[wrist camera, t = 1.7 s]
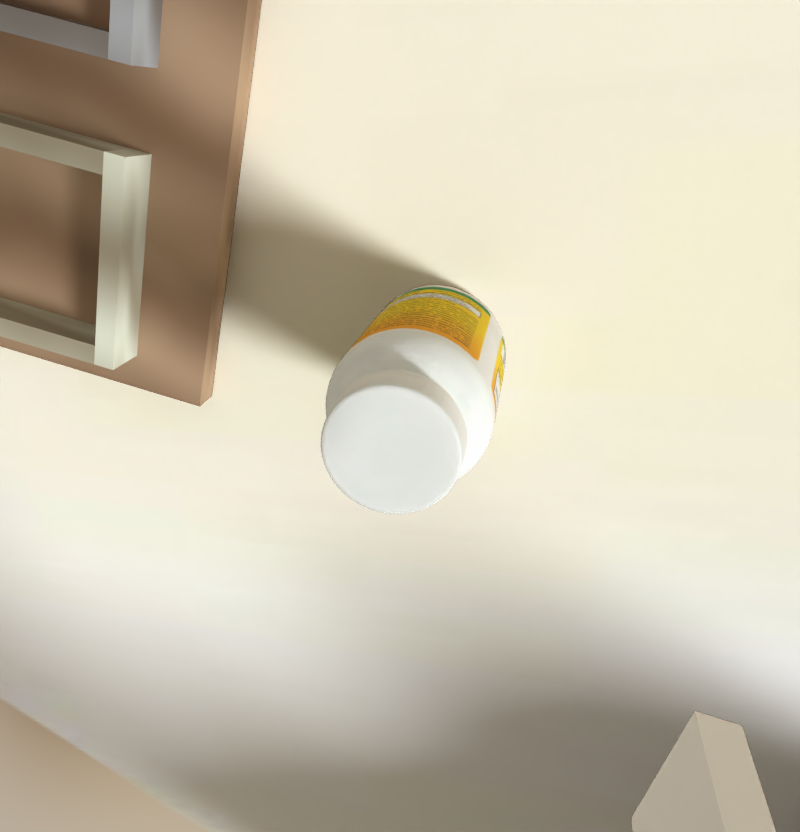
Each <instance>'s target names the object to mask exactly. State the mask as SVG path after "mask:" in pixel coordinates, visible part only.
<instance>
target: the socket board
mask: <svg viewBox="0 0 800 832" xmlns="http://www.w3.org/2000/svg"><path fill="white" fill-rule="evenodd" d="M261 2H262V0H0V346H1V347H5V348H8V349H11V350H15V351H18V352H21V353H25V354H28V355H31V356H35V357H38V358H41V359H44V360H48V361H51V362H54V363H58V364H61V365H64V366H68V367H71V368H74V369H78V370H81V371H84V372H88V373H91V374H94V375H97V376H101V377H104V378H107V379H111V380H114V381H117V382H121V383H124V384H127V385H131V386H134V387H137V388H141V389H144V390H147V391H150V392H154V393H157V394H160V395H164V396H167V397H170V398H174V399H177V400H180V401H184V402H187V403H190V404H194V405H197V406H201V405H202V404H203V403H204V402H205V401H206V400H208V399H209V398H210V397H211V396H212V390H213V382H214V374H215V366H216V359H217V351H218V343H219V335H220V327H221V319H222V311H223V303H224V295H225V287H226V279H227V271H228V264H229V256H230V248H231V240H232V232H233V224H234V216H235V208H236V200H237V192H238V184H239V177H240V169H241V161H242V153H243V145H244V137H245V129H246V121H247V113H248V105H249V97H250V89H251V82H252V74H253V66H254V58H255V50H256V42H257V34H258V26H259V18H260V10H261Z"/></svg>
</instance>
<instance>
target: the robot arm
mask: <svg viewBox="0 0 800 832" xmlns="http://www.w3.org/2000/svg"><path fill="white" fill-rule="evenodd" d="M631 820H632V828H633V832H776V830H775V827H774V824H773V821H772V818H771V814H770V811H769V808H768V805H767V802H766V799H765V796H764V793H763V790H762V786H761V783H760V780H759V777H758V774H757V771H756V768H755V765H754V762H753V758H752V755H751V752H750V749H749V746H748V743H747V740H746V737H745V734H744V730H743V727H742V726H741V725H738V724H735V723H732V722H729V721H725V720H722V719H719V718H716V717H713V716H709V715H706V714H703V713H700V712H697V711H694V713H693V715H692V716H691V718H690V720H689V721H688V723H687V725H686V726H685V728H684V730H683V731H682V733H681V735H680V737H679V738H678V740H677V742H676V743H675V745H674V747H673V748H672V750H671V752H670V753H669V755H668V757H667V758H666V760H665V762H664V763H663V765H662V767H661V769H660V770H659V772H658V774H657V775H656V777H655V779H654V780H653V782H652V784H651V785H650V787H649V789H648V790H647V792H646V794H645V796H644V797H643V799H642V801H641V802H640V804H639V806H638V807H637V809H636V811H635V812H634V814H633V816H632V817H631Z"/></svg>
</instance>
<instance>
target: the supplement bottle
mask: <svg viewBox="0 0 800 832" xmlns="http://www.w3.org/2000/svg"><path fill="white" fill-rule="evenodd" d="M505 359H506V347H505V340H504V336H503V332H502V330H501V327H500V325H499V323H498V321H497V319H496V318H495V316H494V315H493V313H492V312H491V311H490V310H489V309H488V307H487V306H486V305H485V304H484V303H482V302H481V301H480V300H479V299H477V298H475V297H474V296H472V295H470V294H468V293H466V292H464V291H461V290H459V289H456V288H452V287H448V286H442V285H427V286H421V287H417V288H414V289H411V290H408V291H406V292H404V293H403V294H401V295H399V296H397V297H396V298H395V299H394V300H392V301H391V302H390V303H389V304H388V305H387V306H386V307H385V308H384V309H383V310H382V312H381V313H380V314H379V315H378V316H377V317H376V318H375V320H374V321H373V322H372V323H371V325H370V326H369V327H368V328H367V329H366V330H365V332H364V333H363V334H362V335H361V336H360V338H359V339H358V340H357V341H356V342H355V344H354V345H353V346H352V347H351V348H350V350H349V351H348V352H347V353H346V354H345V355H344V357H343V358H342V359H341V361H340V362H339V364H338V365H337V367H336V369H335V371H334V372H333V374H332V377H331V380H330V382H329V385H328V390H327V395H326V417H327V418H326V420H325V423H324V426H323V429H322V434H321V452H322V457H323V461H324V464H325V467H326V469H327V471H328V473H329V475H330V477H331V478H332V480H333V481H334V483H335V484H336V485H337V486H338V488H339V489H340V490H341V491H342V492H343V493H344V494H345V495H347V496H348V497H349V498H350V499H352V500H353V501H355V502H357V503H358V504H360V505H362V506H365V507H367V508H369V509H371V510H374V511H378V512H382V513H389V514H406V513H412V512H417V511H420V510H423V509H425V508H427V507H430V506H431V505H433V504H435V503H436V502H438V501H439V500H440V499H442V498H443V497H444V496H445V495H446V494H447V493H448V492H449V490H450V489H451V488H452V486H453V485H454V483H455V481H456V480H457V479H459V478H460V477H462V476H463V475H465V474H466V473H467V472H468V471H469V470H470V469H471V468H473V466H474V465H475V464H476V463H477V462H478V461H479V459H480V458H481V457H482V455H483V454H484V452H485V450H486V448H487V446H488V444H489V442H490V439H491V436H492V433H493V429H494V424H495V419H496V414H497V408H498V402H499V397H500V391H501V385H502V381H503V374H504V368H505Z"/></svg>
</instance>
